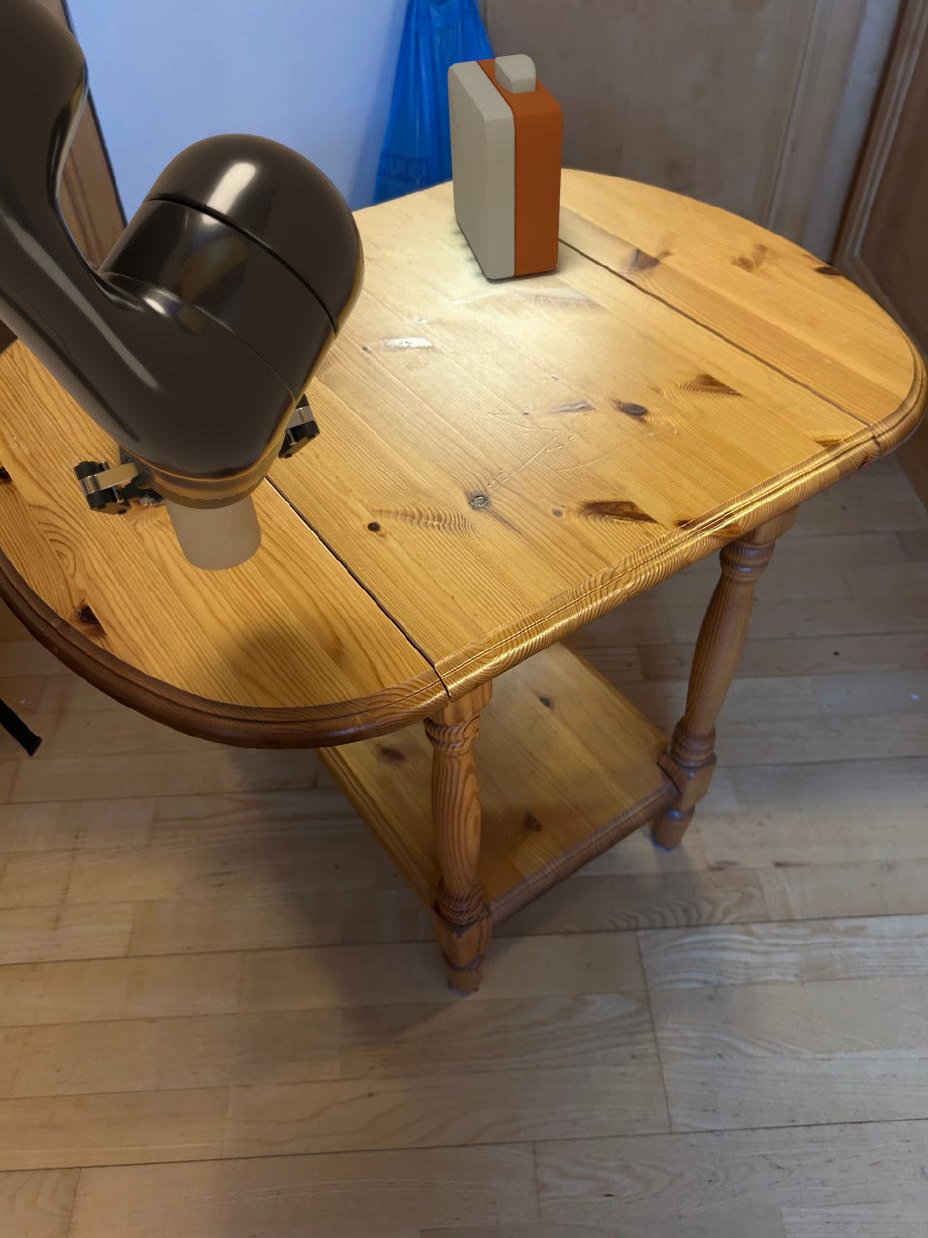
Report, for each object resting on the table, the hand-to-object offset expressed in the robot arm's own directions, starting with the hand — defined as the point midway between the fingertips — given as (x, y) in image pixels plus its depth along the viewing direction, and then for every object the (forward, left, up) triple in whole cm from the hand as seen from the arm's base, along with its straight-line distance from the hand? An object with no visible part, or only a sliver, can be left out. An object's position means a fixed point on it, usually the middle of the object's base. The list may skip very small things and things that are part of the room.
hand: (198, 476), depth 60 cm
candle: (0, -2, -5) cm, 5 cm away
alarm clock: (+40, +53, -16) cm, 69 cm away
